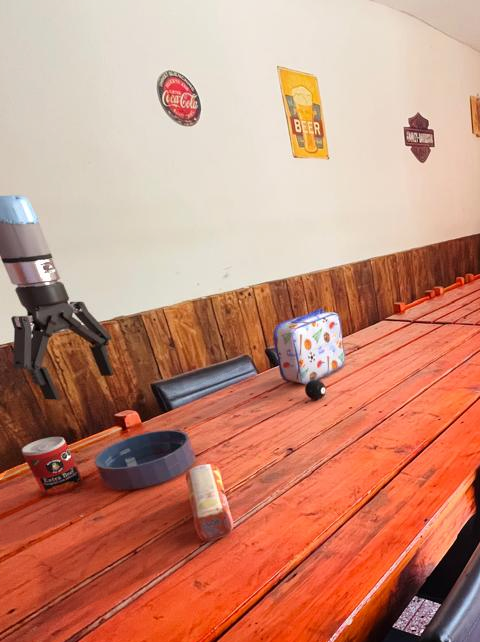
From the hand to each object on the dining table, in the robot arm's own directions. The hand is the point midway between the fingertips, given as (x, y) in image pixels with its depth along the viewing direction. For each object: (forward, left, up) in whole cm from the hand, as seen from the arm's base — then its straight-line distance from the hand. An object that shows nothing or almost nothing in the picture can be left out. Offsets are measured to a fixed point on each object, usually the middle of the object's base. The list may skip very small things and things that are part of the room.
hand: (81, 386), depth 108 cm
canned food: (-12, -4, -24) cm, 27 cm away
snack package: (+31, -9, -24) cm, 40 cm away
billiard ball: (+22, +52, -24) cm, 61 cm away
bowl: (+3, +6, -24) cm, 24 cm away
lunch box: (+11, +73, -24) cm, 77 cm away
